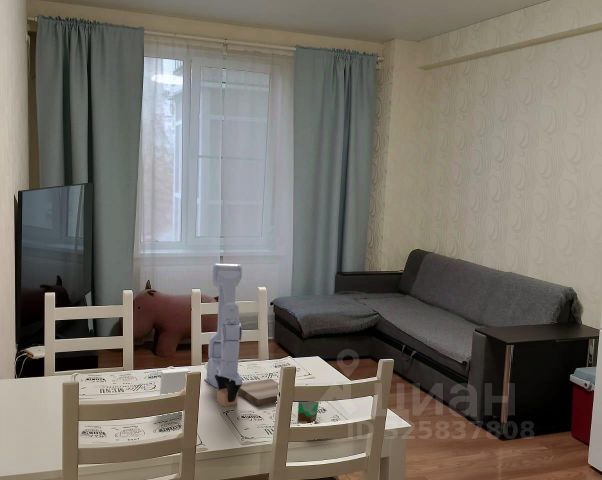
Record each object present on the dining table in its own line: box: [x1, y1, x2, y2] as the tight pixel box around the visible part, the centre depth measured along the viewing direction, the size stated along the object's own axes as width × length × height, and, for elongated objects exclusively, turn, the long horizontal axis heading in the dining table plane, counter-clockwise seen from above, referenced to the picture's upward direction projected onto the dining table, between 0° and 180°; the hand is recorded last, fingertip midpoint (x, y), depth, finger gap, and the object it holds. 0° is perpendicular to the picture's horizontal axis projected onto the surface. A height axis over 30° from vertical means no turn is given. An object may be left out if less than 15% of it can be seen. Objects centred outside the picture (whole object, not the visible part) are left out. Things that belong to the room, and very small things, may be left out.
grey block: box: [159, 367, 191, 396], centre depth 198 cm, size 9×9×12 cm
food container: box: [296, 384, 320, 423], centre depth 194 cm, size 12×6×10 cm, turn 168°
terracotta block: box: [216, 388, 239, 407], centre depth 204 cm, size 5×5×4 cm
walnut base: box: [238, 378, 280, 407], centre depth 213 cm, size 15×15×2 cm
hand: (227, 398), depth 204 cm, fingers closed on terracotta block, 5 cm apart
